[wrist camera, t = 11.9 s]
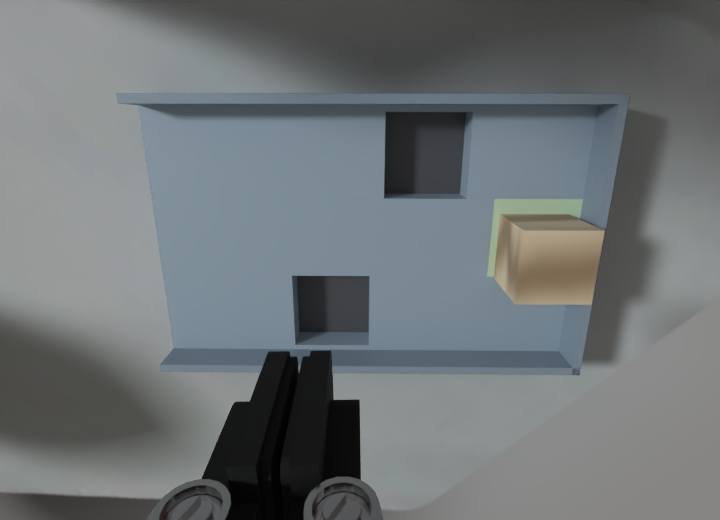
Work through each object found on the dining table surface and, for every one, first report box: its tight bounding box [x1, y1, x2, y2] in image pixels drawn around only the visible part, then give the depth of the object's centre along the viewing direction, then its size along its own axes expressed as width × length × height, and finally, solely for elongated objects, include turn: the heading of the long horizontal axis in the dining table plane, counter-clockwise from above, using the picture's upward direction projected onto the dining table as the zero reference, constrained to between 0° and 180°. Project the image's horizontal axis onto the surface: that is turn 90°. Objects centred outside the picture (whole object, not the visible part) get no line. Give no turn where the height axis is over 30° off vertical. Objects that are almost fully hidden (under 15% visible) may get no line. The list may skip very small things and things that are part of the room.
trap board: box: [116, 93, 630, 375], centre depth 32 cm, size 20×32×5 cm, turn 90°
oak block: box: [494, 214, 605, 305], centre depth 30 cm, size 5×5×5 cm
